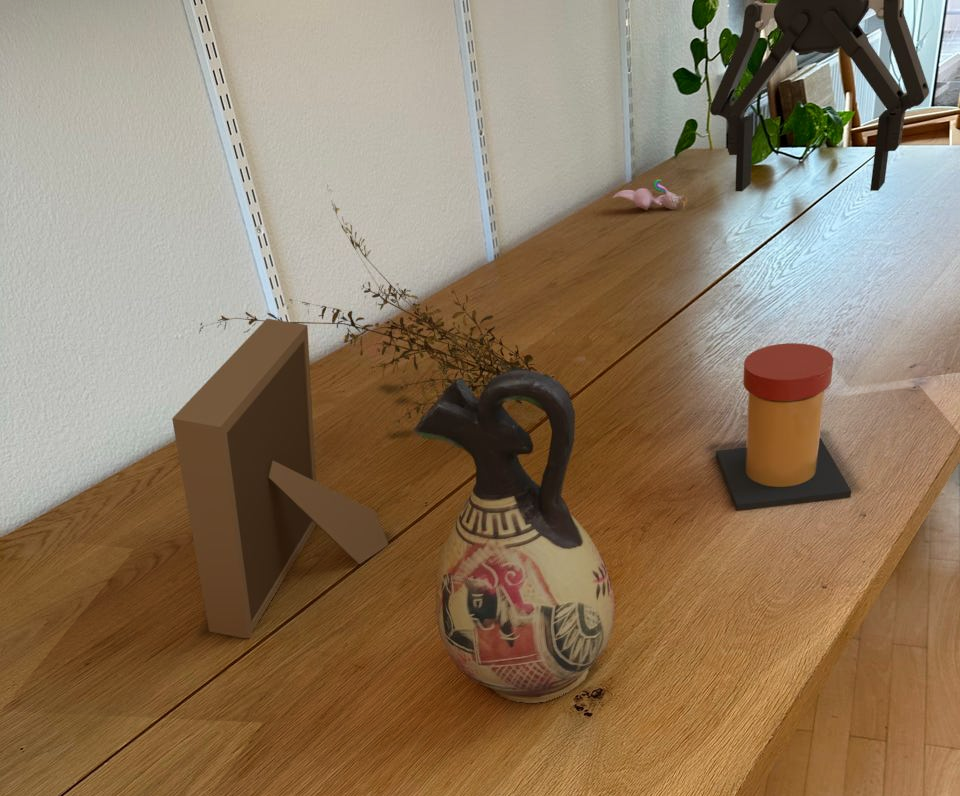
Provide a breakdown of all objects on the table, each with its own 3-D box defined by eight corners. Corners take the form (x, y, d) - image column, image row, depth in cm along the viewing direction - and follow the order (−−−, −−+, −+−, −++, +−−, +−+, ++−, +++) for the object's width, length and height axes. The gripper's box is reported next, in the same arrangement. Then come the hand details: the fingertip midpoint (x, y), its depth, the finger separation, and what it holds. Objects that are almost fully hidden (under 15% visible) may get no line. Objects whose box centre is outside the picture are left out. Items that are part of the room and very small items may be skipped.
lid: (816, 405, 90) (818, 383, 88) (731, 395, 94) (731, 374, 92) (841, 367, 95) (844, 347, 93) (759, 359, 99) (760, 340, 98)
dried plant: (628, 254, 113) (302, 120, 115) (557, 386, 93) (166, 221, 95) (558, 439, 136) (289, 325, 138) (490, 574, 117) (179, 439, 119)
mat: (820, 443, 105) (820, 437, 105) (850, 497, 96) (851, 491, 96) (716, 456, 107) (716, 450, 106) (736, 510, 97) (736, 504, 97)
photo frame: (212, 638, 94) (114, 421, 78) (286, 522, 110) (218, 322, 94) (344, 641, 91) (269, 413, 75) (401, 520, 106) (349, 311, 90)
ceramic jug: (425, 719, 80) (341, 411, 61) (486, 611, 91) (431, 319, 72) (610, 752, 74) (581, 420, 55) (654, 632, 84) (642, 319, 65)
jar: (806, 448, 103) (815, 348, 96) (824, 482, 98) (835, 378, 90) (739, 457, 104) (742, 358, 97) (753, 491, 98) (758, 388, 91)
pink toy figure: (687, 209, 184) (615, 201, 187) (691, 178, 180) (618, 170, 183) (681, 219, 179) (608, 210, 183) (686, 187, 175) (611, 179, 179)
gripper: (677, -47, 83) (679, 198, 97) (977, -88, 71) (931, 198, 85) (706, -58, 88) (704, 177, 101) (992, -99, 76) (946, 174, 89)
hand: (807, 187), depth 93 cm, fingers open, 13 cm apart
